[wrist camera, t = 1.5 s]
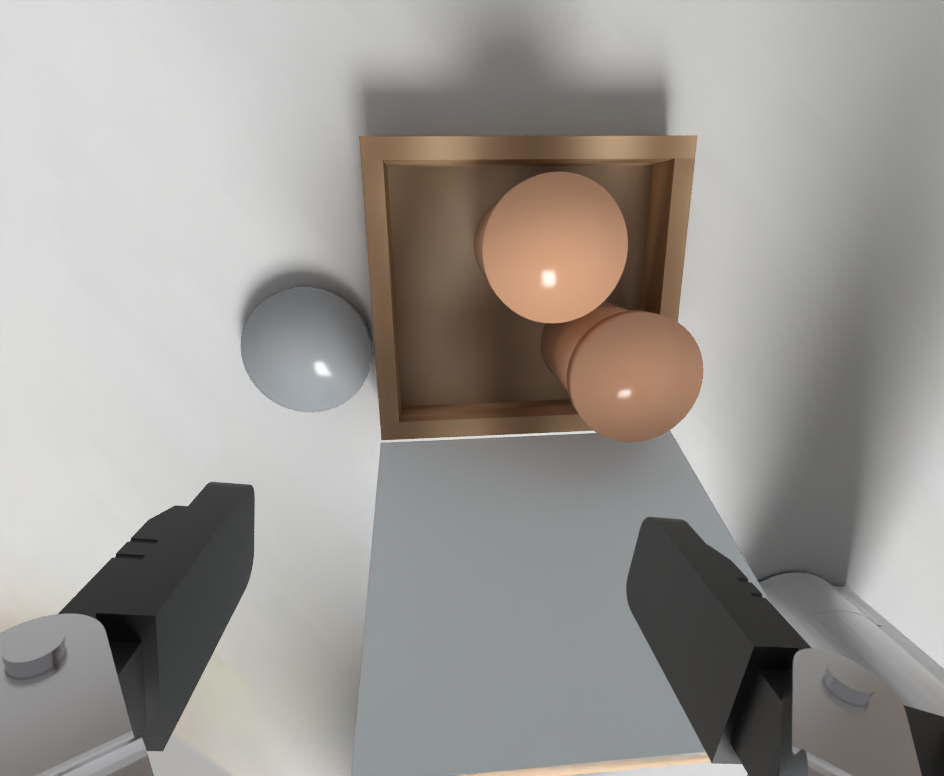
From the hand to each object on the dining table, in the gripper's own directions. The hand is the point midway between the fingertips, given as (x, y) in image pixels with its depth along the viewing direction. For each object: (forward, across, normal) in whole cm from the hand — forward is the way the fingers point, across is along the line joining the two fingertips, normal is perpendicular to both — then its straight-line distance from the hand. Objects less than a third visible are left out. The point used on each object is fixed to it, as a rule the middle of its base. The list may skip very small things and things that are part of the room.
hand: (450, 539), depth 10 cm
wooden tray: (+20, -4, -3) cm, 21 cm away
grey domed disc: (+20, +7, +1) cm, 21 cm away
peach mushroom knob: (+19, -4, -6) cm, 21 cm away
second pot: (+19, -9, -1) cm, 21 cm away
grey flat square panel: (+9, -6, +7) cm, 13 cm away
